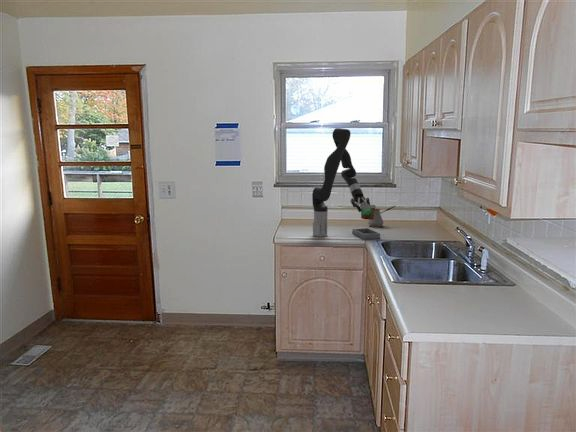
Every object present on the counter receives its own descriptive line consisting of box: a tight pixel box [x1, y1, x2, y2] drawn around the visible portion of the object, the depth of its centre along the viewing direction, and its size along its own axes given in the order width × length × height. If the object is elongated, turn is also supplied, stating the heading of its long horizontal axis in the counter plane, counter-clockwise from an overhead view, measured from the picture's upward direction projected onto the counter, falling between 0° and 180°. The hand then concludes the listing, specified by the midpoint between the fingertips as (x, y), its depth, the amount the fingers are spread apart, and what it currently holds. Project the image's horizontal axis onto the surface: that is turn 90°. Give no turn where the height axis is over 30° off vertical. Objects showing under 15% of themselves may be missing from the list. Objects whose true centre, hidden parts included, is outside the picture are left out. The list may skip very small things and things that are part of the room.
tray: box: [351, 227, 381, 241], centre depth 293 cm, size 12×18×4 cm, turn 16°
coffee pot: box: [367, 205, 397, 228], centre depth 324 cm, size 21×12×15 cm, turn 99°
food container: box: [359, 203, 377, 221], centre depth 293 cm, size 12×6×10 cm, turn 35°
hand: (364, 211), depth 295 cm, fingers closed on food container, 5 cm apart
